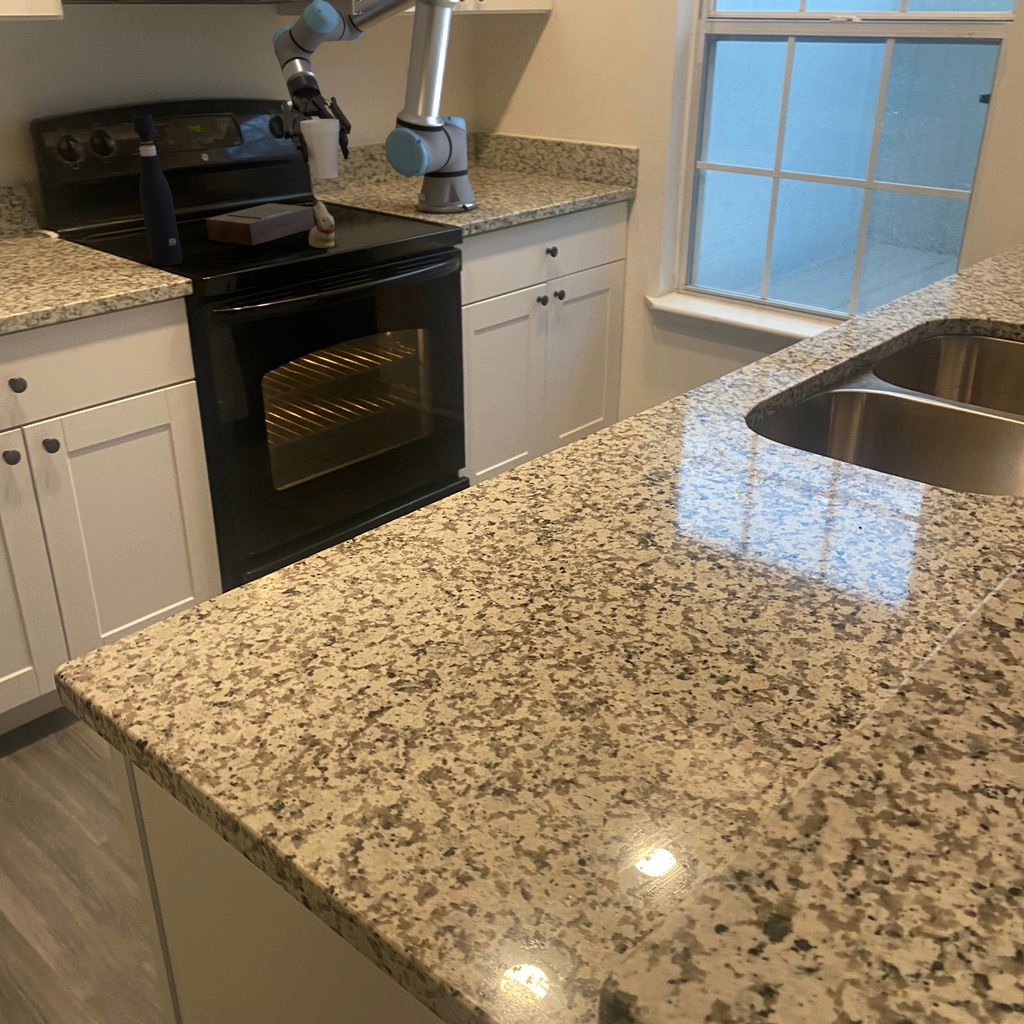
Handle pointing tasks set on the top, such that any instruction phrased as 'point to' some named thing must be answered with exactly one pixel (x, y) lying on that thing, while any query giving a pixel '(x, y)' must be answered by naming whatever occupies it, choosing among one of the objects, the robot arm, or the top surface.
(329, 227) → the chocolate bunny
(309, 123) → the foam cup
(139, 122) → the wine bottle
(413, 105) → the robot arm
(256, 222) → the slotted wooden box
